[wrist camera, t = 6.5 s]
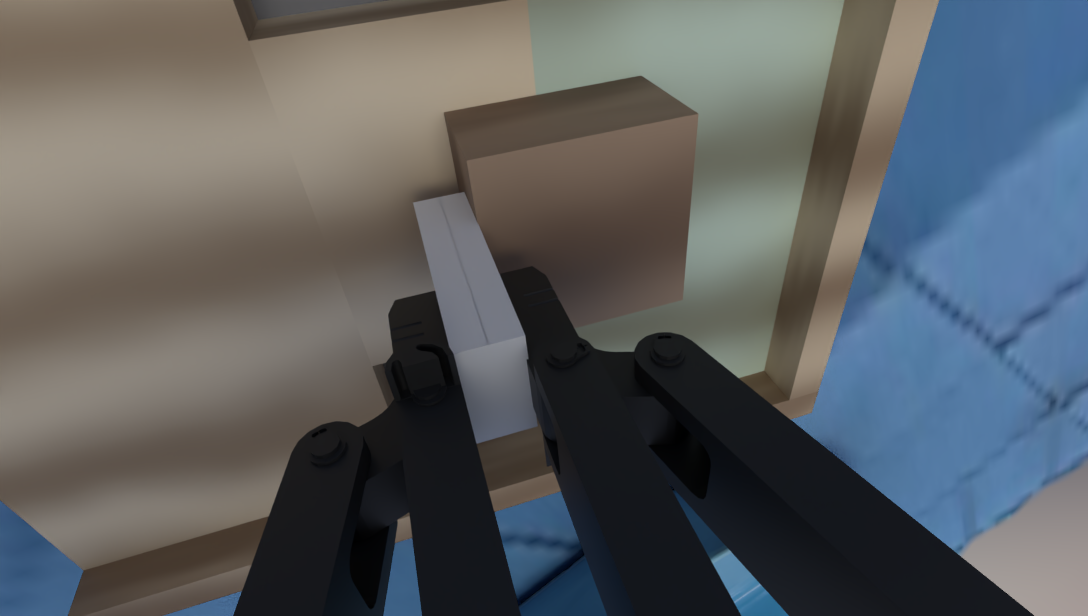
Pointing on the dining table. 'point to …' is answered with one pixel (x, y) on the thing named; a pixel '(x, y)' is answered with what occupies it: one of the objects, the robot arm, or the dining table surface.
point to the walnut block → (584, 191)
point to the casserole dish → (576, 607)
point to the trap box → (365, 233)
